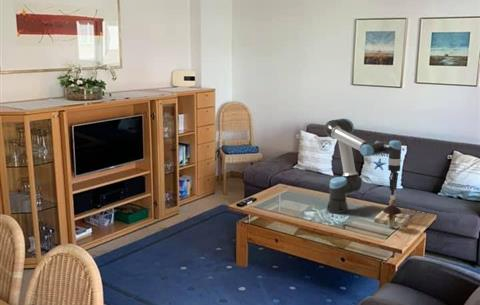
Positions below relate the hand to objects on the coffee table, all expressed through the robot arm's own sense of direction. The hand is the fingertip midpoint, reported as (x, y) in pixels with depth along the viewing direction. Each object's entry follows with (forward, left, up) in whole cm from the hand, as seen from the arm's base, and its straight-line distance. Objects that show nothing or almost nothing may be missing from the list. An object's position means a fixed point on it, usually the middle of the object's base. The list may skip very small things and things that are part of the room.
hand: (392, 199), depth 327 cm
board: (0, 0, -15) cm, 15 cm away
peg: (0, 0, -15) cm, 15 cm away
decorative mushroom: (+4, -14, -15) cm, 21 cm away
